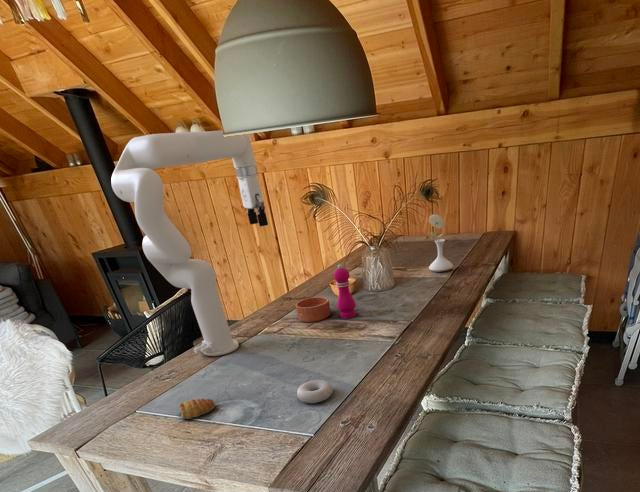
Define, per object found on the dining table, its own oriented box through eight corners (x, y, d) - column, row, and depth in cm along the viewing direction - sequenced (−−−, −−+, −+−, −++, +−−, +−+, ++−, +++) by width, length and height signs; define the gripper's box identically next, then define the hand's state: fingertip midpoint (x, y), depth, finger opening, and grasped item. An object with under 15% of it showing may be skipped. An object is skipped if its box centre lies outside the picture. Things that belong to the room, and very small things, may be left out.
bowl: (314, 324, 180) (311, 309, 177) (291, 320, 187) (288, 305, 184) (337, 313, 188) (335, 298, 185) (315, 309, 196) (312, 295, 192)
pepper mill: (356, 318, 181) (348, 265, 170) (338, 320, 181) (329, 267, 170) (357, 311, 187) (350, 260, 176) (339, 313, 187) (331, 262, 176)
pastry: (213, 401, 134) (208, 390, 132) (218, 411, 129) (213, 399, 127) (179, 412, 131) (175, 401, 129) (183, 422, 126) (178, 410, 124)
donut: (303, 389, 135) (293, 406, 126) (301, 378, 133) (291, 394, 125) (337, 387, 133) (328, 404, 125) (335, 377, 131) (326, 393, 123)
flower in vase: (457, 269, 223) (456, 212, 209) (438, 275, 218) (436, 217, 204) (440, 265, 232) (438, 211, 219) (422, 270, 228) (418, 215, 214)
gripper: (228, 174, 168) (241, 225, 177) (245, 173, 156) (258, 228, 165) (248, 171, 171) (259, 221, 181) (265, 170, 159) (277, 224, 168)
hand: (259, 224), depth 173 cm, fingers open, 9 cm apart
